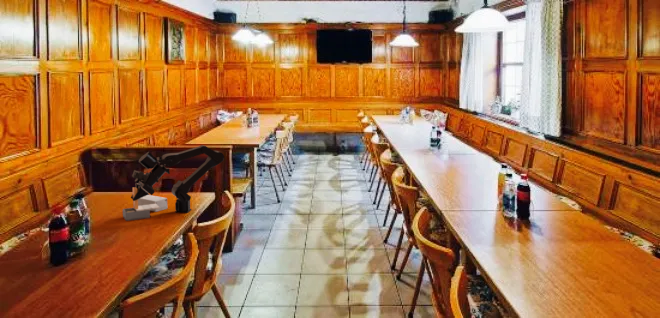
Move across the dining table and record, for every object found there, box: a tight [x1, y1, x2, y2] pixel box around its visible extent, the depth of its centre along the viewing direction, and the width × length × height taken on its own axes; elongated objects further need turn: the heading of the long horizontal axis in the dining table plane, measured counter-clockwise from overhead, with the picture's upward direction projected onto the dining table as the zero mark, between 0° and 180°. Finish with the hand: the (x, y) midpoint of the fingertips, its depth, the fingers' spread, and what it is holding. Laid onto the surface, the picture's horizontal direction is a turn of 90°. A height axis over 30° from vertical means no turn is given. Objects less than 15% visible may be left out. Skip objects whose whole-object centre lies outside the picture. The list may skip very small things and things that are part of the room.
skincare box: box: [138, 194, 168, 212], centre depth 260 cm, size 8×6×15 cm
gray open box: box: [122, 207, 151, 222], centre depth 244 cm, size 11×8×4 cm
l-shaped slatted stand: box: [131, 186, 160, 211], centre depth 245 cm, size 11×8×11 cm
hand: (132, 199), depth 242 cm, fingers closed on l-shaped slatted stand, 4 cm apart
